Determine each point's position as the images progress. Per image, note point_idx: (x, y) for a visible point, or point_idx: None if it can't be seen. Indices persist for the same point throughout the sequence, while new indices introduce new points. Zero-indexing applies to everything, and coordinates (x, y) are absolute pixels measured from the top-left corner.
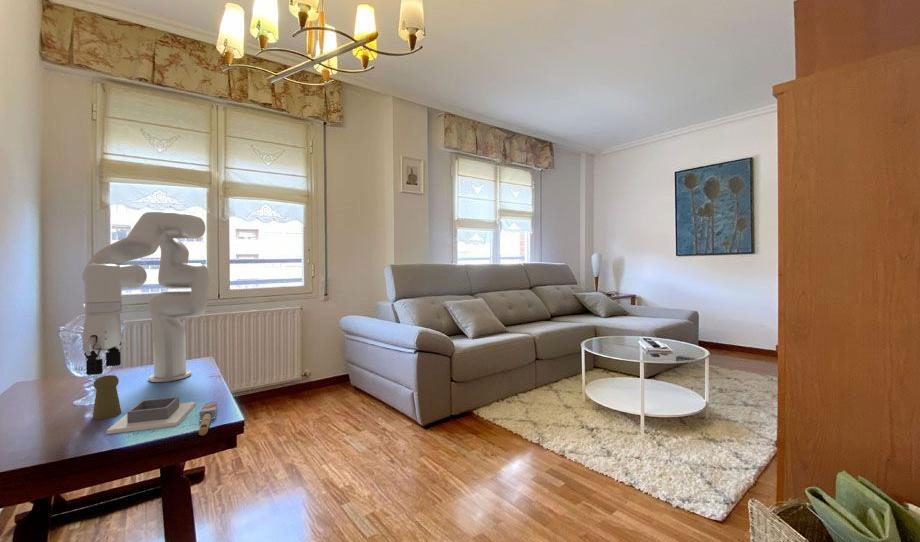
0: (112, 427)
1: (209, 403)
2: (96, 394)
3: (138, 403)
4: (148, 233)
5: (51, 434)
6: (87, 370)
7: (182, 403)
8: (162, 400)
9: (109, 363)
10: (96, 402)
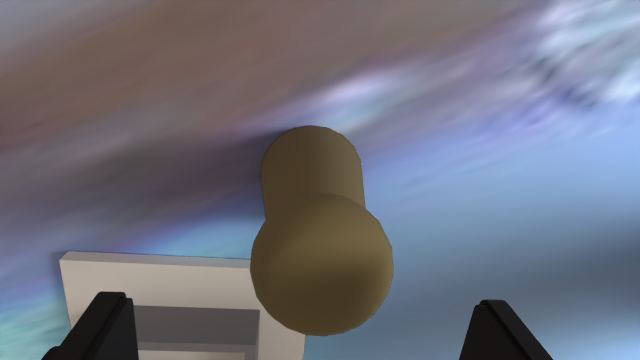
0: (86, 269)
1: None
2: (286, 192)
3: (210, 345)
4: None
5: (123, 34)
6: (81, 328)
7: None
8: None
9: (480, 342)
10: (277, 177)
